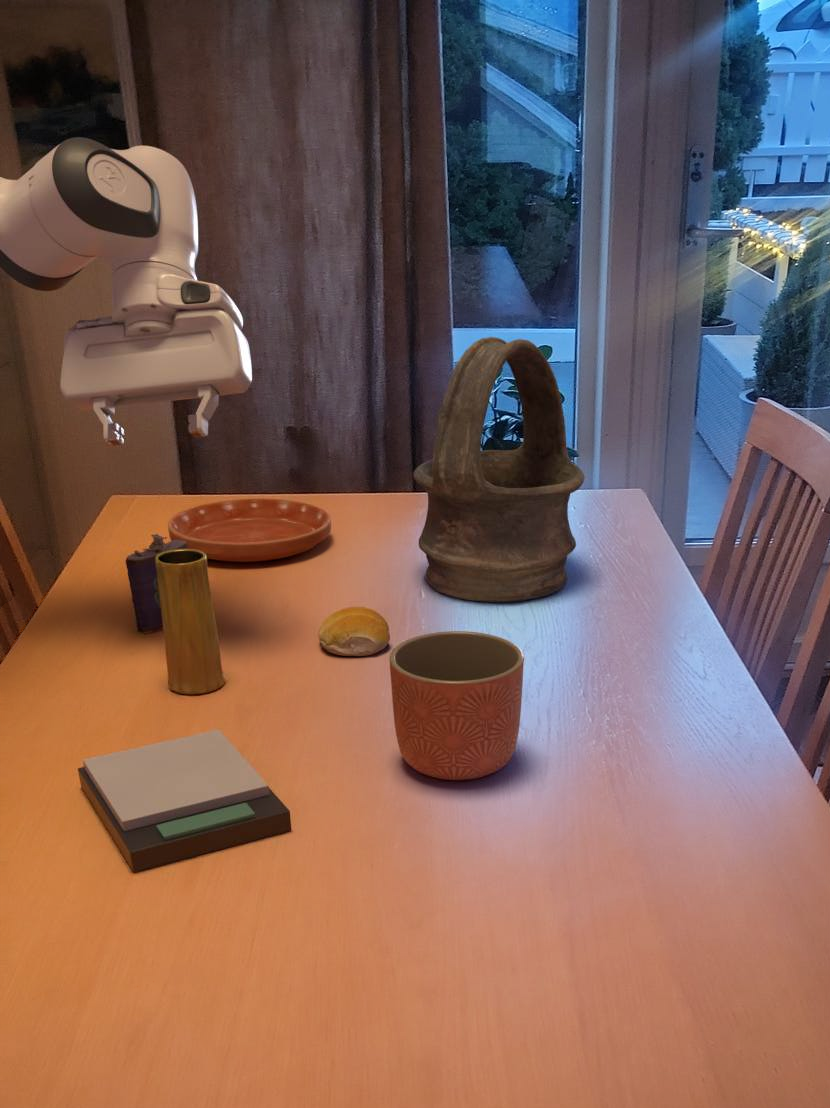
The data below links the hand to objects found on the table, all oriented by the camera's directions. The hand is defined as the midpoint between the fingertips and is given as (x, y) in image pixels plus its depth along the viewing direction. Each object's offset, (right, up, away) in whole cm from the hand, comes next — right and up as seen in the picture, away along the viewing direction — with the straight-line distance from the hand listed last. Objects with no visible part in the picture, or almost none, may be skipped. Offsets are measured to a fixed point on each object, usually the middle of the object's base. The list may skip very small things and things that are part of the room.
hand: (155, 439), depth 128 cm
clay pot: (+36, -7, +36) cm, 51 cm away
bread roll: (+19, -19, +16) cm, 31 cm away
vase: (+3, -25, +6) cm, 26 cm away
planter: (+32, -35, -9) cm, 48 cm away
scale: (+7, -39, -17) cm, 43 cm away
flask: (-4, -15, +22) cm, 27 cm away
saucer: (+1, +1, +48) cm, 48 cm away
